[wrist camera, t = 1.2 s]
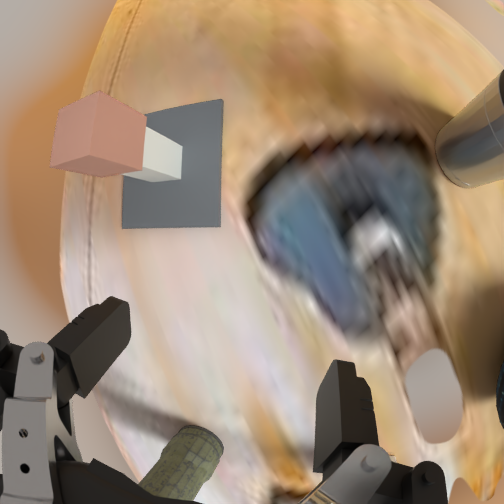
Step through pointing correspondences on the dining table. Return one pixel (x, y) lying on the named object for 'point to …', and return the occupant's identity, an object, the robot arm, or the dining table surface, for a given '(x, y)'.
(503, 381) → the decorative sphere
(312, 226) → the dining table surface
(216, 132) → the square base with post
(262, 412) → the dining table surface
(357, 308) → the dining table surface
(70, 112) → the cap
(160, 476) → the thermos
